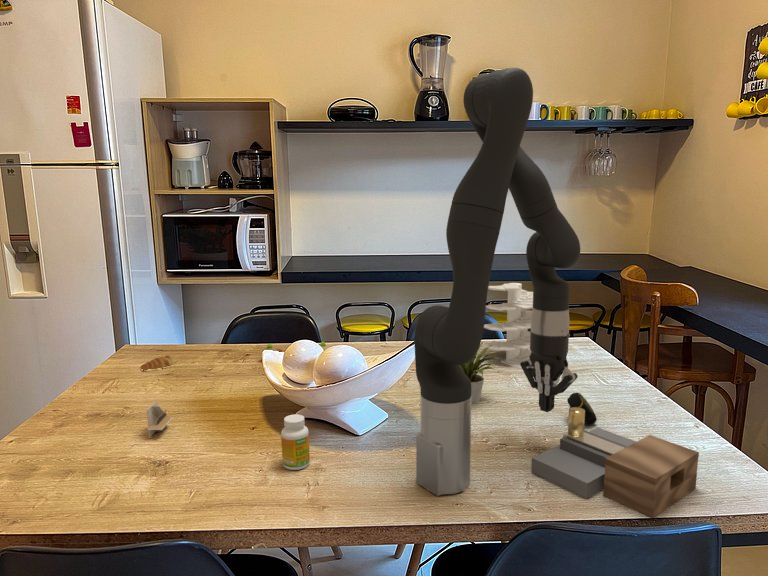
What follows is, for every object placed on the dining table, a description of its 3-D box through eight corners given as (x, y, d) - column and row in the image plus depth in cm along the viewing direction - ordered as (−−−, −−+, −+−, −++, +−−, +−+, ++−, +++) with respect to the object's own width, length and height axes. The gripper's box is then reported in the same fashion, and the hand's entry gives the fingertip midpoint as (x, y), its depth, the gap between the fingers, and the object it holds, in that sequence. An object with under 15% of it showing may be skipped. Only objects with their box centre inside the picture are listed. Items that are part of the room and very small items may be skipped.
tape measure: (587, 429, 128) (601, 420, 127) (572, 417, 125) (586, 407, 124) (574, 407, 134) (587, 398, 133) (559, 395, 131) (572, 386, 129)
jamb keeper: (652, 518, 92) (655, 478, 91) (603, 494, 99) (605, 458, 98) (695, 488, 101) (699, 452, 100) (647, 468, 108) (649, 435, 107)
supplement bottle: (297, 473, 108) (295, 426, 106) (276, 466, 111) (274, 420, 109) (315, 461, 112) (313, 416, 111) (294, 455, 115) (292, 410, 114)
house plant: (470, 418, 132) (471, 352, 129) (428, 402, 142) (428, 340, 140) (507, 403, 141) (509, 340, 139) (465, 389, 152) (466, 330, 149)
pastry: (146, 376, 164) (145, 364, 164) (137, 371, 169) (135, 359, 168) (177, 369, 171) (176, 357, 170) (167, 363, 175) (166, 352, 175)
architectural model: (174, 430, 129) (171, 400, 128) (163, 444, 122) (160, 412, 121) (159, 430, 129) (156, 400, 128) (147, 444, 122) (144, 412, 121)
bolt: (613, 464, 103) (615, 428, 102) (562, 443, 112) (564, 410, 110) (625, 458, 105) (627, 423, 104) (574, 437, 114) (576, 405, 113)
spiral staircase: (538, 355, 181) (541, 279, 177) (545, 373, 164) (548, 289, 159) (481, 353, 184) (482, 278, 180) (482, 370, 167) (483, 288, 162)
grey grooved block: (586, 499, 98) (588, 472, 97) (531, 472, 107) (532, 447, 106) (651, 461, 111) (653, 437, 110) (596, 440, 120) (598, 418, 119)
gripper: (511, 326, 116) (509, 405, 119) (566, 339, 106) (562, 425, 109) (534, 321, 121) (531, 397, 124) (589, 333, 110) (584, 415, 114)
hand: (546, 410), depth 116 cm, fingers closed
